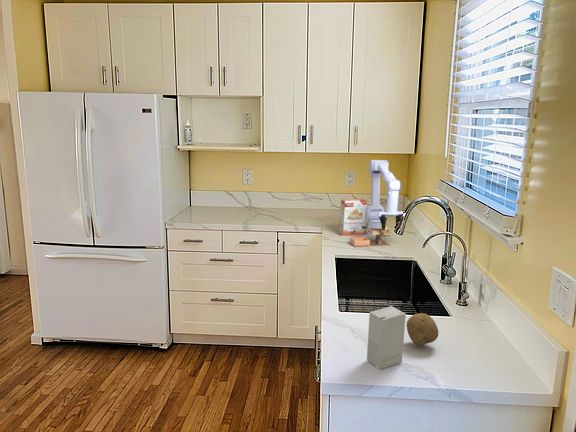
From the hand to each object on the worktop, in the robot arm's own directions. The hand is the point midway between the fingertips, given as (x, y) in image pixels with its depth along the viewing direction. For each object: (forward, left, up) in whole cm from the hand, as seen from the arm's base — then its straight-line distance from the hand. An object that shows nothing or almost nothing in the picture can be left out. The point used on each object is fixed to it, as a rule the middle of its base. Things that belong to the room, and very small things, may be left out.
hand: (390, 229), depth 244 cm
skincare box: (+110, -53, -10) cm, 123 cm away
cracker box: (-30, -9, -10) cm, 33 cm away
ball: (-6, -1, -1) cm, 6 cm away
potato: (+103, -38, -10) cm, 111 cm away
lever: (-9, -4, -5) cm, 11 cm away
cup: (-6, -14, -9) cm, 18 cm away
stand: (-6, -9, -10) cm, 14 cm away
